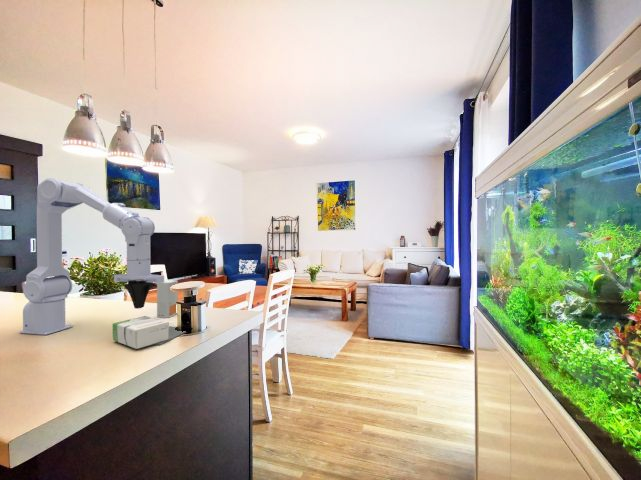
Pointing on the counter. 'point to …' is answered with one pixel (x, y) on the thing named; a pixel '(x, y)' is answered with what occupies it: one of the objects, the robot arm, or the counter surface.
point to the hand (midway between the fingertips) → (139, 307)
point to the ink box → (140, 331)
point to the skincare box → (166, 299)
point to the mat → (171, 335)
